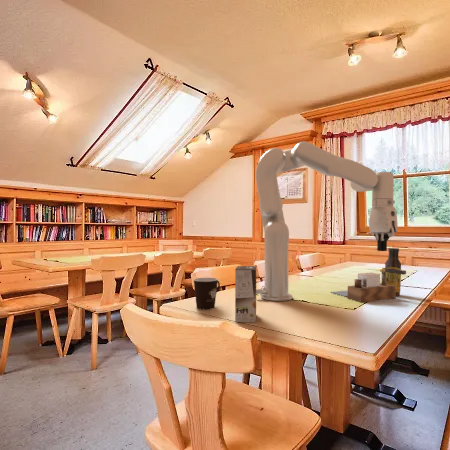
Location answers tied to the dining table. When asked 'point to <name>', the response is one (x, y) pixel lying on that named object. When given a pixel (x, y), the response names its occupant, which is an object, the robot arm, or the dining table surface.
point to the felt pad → (341, 293)
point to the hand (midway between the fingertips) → (382, 250)
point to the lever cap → (369, 279)
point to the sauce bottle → (393, 264)
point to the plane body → (371, 291)
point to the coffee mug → (206, 292)
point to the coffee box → (245, 294)
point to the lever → (393, 271)
